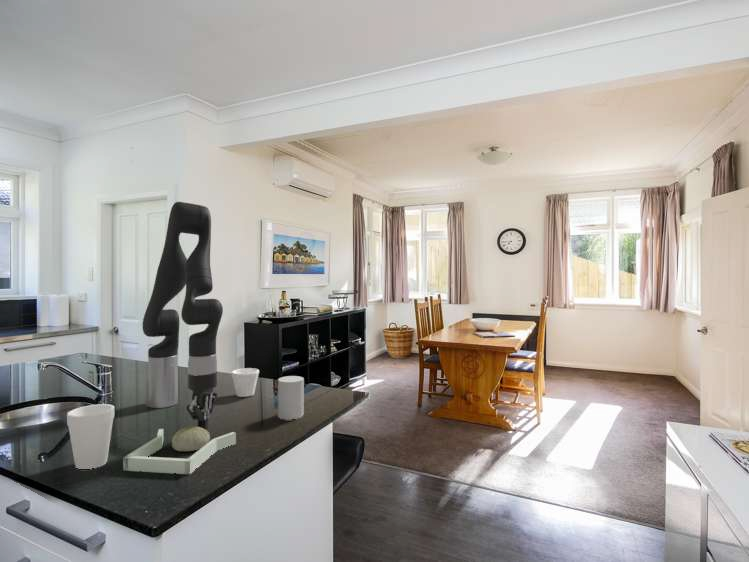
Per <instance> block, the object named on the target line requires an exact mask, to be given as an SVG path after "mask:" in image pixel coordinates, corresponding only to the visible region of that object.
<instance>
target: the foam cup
mask: <svg viewBox="0 0 749 562" xmlns="http://www.w3.org/2000/svg"><path fill="white" fill-rule="evenodd" d="M114 419H115V406H114V405H113V404H108V403H107V404H106V403H103V404H102V403H101V404H90V405H85V406H80V407H77V408H73V409H72V410H70V411H67V414H66V426H68V432H69V437H70V443H71V449H72V454H73V455H72V456H73V461H74V467H75V469H76V468H78V469H90V470H93V469H92V468H94V469H98V468H100V467H103V466H104V465H106V464H107V463H108V459H109V451H110V442H111V437H112V430H113V422H114ZM106 462H107V463H106ZM97 467H98V468H97ZM78 469H77V470H78Z"/></svg>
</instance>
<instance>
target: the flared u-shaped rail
mask: <svg viewBox="0 0 749 562" xmlns="http://www.w3.org/2000/svg"><path fill="white" fill-rule="evenodd" d="M156 435H157V436H156V437H155V438H153V439H150V440H149V441H148V442H146V443H144V444H143V445H141V446H140V447H138V448H136V449H135V450H133V451H132V452H130V453H128V454H127V455H125V456H124V457H122V469H123V471H125V472H126V471H127V472H140V471H141V473H143V472H144V473H157V474H158V473H161V474H174V473H176V474H178V475H191V474H192V473H193V472H195V471H196V470H197V469H198V468H199V467H200V466H202V465H203V464H204V463H205V462H206V461H207V460H208V459H210V458H211V457H212V456H213V455H214V454H215V453H216V452H218V450H219V451H221V450H224V449H227V448H228V446H229V447H232V446H233V445H236V444H237V433H236V432H235V431H232V432H229V433H226V434H222V435H221V436H217V437H215V438H213V439H210V440H209V442H208V443H207V444H206V445H205V446H203V447H202V448H200V449H198V450H196V451H195V453H193V454H192V455H191V456H190V457H188V458H178V457H160V456H152V455H154V454H155V453H157V452H158V451H160V450H161V449H162V448H163V443H164V428H159V429H158V430H157V434H156ZM231 445H232V446H231ZM226 447H227V448H226ZM223 448H224V449H223ZM156 451H157V452H156ZM153 453H154V454H153ZM151 454H152V455H151ZM150 455H151V456H150ZM211 455H212V456H211ZM148 456H149V457H148ZM210 456H211V457H210ZM202 463H203V464H202ZM196 468H197V469H196ZM195 469H196V470H195ZM176 474H175V475H176Z"/></svg>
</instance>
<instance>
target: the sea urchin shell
mask: <svg viewBox="0 0 749 562" xmlns="http://www.w3.org/2000/svg"><path fill="white" fill-rule="evenodd" d="M210 441H211V435H210V432H209V431H207V430H205V429H203V428H201V427H198V426H188V427H187V426H186V427H183V428H181V429H179V430H177V431H176V432H175V433H174V435H173V436H172V438H171V447H172V449H174V450H175V451H177V452H192V451H193V452H194V451H195V450H196V451H198V450H200V449H201V448H202V447H203V446H205V445H206V444H207V443H208V442H210ZM196 451H195V452H196Z"/></svg>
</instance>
